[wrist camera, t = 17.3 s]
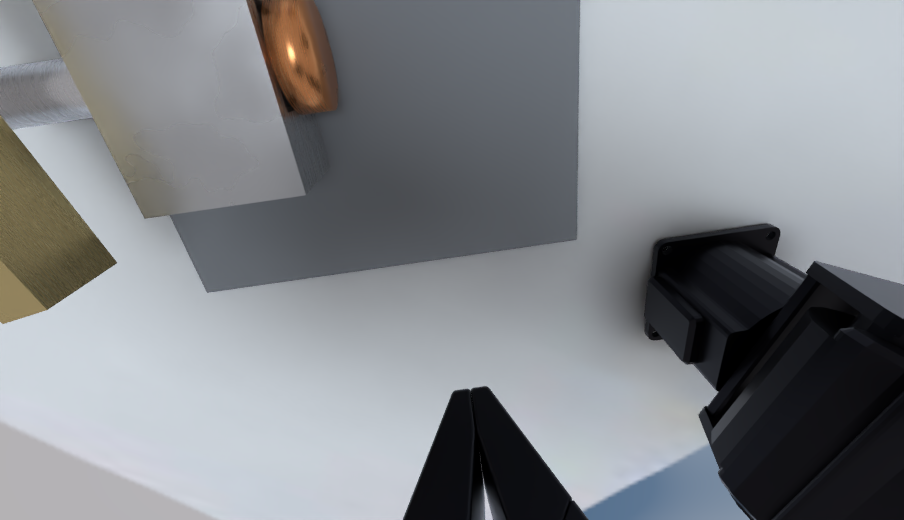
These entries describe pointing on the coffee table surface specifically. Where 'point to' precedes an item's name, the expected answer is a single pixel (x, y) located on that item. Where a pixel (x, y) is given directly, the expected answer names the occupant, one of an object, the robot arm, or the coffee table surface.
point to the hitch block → (187, 101)
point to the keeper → (39, 237)
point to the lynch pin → (289, 47)
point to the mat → (420, 145)
